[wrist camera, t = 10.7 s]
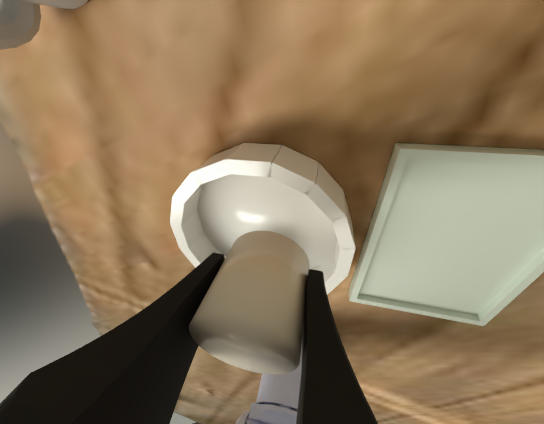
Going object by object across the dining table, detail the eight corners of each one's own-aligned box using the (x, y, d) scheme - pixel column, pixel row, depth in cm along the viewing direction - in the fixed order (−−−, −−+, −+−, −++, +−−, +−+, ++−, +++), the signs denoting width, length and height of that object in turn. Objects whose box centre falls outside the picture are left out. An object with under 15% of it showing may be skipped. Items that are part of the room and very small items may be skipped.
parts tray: (476, 314, 20) (483, 326, 19) (348, 291, 23) (349, 301, 22) (636, 153, 11) (664, 161, 10) (395, 143, 14) (400, 148, 13)
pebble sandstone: (305, 293, 12) (296, 383, 9) (235, 279, 13) (201, 357, 10) (313, 237, 10) (304, 332, 6) (226, 225, 11) (175, 303, 7)
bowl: (335, 285, 23) (335, 316, 20) (209, 263, 26) (194, 287, 23) (369, 149, 14) (378, 169, 11) (174, 139, 17) (144, 153, 14)
